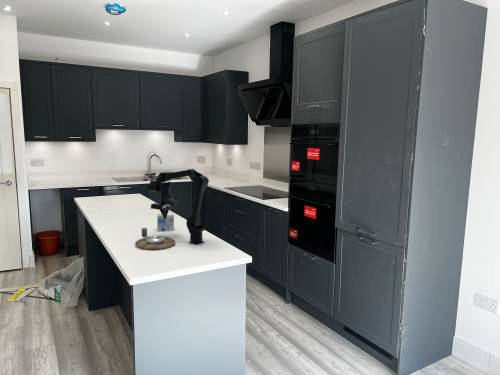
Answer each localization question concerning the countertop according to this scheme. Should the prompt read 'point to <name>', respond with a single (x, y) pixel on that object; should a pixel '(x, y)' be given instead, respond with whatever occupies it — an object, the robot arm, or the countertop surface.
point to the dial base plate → (146, 246)
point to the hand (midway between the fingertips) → (165, 218)
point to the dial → (151, 238)
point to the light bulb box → (165, 222)
